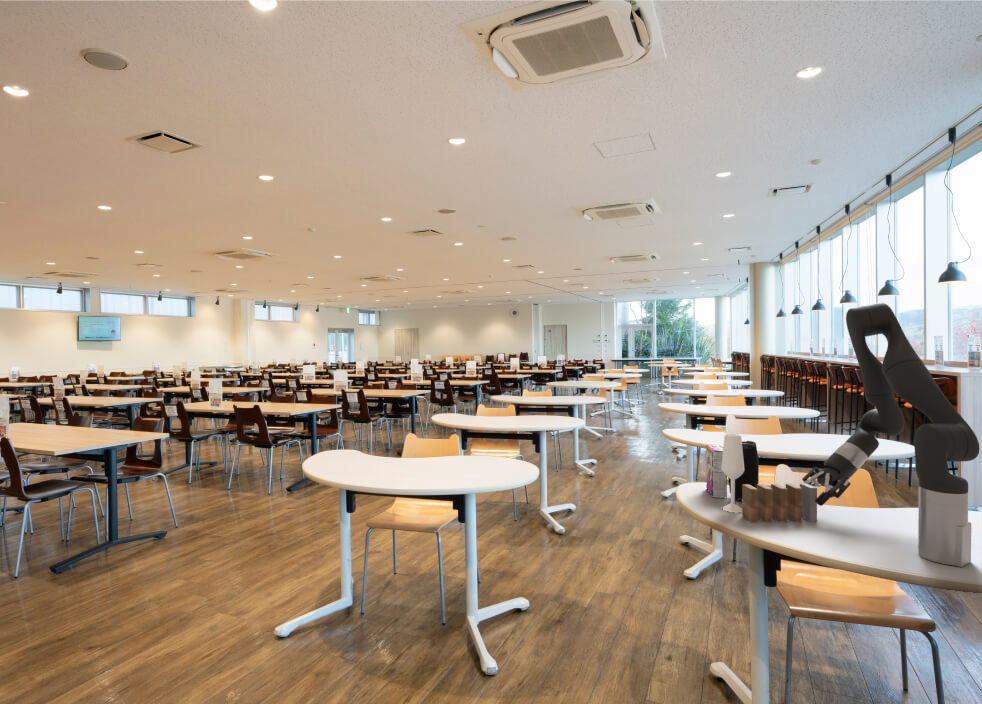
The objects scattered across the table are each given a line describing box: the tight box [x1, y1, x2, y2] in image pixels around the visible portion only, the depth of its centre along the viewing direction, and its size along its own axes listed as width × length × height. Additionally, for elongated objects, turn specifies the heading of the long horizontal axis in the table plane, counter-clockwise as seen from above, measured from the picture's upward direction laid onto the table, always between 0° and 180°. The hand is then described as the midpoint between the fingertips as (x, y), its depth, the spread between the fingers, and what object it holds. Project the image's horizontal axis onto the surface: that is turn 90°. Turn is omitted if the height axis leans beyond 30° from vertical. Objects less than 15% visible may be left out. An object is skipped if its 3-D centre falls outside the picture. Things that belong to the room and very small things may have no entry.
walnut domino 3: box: [770, 483, 788, 523], centre depth 158 cm, size 2×5×10 cm, turn 1°
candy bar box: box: [705, 444, 728, 499], centre depth 184 cm, size 11×5×16 cm, turn 168°
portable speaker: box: [727, 440, 760, 501], centre depth 177 cm, size 9×9×20 cm
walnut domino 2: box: [757, 483, 773, 523], centre depth 158 cm, size 2×5×10 cm, turn 2°
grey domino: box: [799, 482, 818, 522], centre depth 158 cm, size 2×5×10 cm, turn 3°
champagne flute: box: [721, 433, 744, 514], centre depth 167 cm, size 7×7×24 cm
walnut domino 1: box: [741, 484, 758, 523], centre depth 157 cm, size 2×5×10 cm, turn 2°
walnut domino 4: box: [785, 483, 803, 523], centre depth 158 cm, size 2×5×10 cm, turn 2°
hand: (808, 499), depth 158 cm, fingers open, 8 cm apart
